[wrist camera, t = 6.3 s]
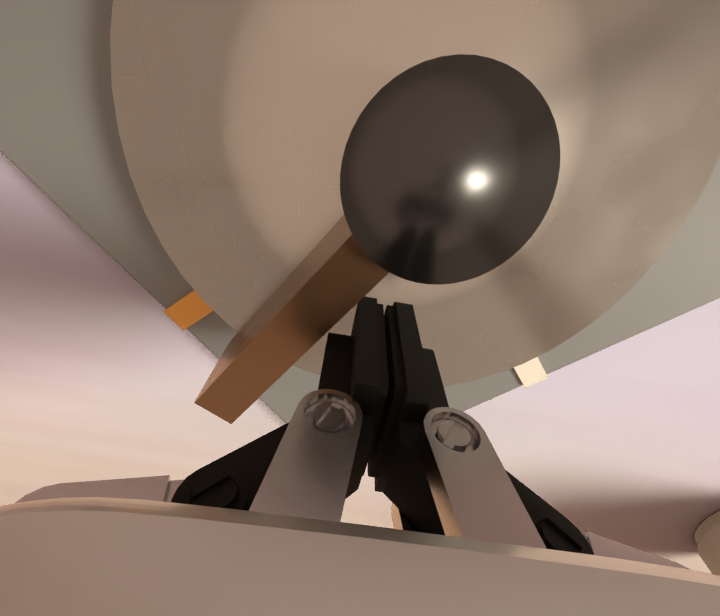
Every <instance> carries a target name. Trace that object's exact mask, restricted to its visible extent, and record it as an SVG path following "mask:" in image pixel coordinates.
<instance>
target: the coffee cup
mask: <svg viewBox="0 0 720 616" xmlns="http://www.w3.org/2000/svg"><path fill="white" fill-rule="evenodd" d="M694 538H695V541H696V543H697V545H698V548H697V550H698V553H699V555H700V557H701V558H702V560H703V561H704V562H705V564H706V565H707V567H708V568H709V570H710V571H711V573H712V574H714V575H719V576H720V511H718V512H716V513H714V514H713V515H711V516H709V517H708V518H707V519H706V520H704V521H703V522H702V523H701V524H700V525H699V527H698V528H697V530H696V531H695V535H694Z"/></svg>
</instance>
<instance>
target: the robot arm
mask: <svg viewBox="0 0 720 616" xmlns="http://www.w3.org/2000/svg"><path fill="white" fill-rule="evenodd" d="M367 462H368V476H369V477H375V491H378V492H383V493H384V494H385V495H386V496H387V497H388V498H389V499H390V500H391V501H392V506H391V515H392V520H393V525H394V529H391V528H383V527H375V526H367V525H359V524H351V523H343V522H340V520H341V515H342V511H343V506H344V502H345V499H346V498H347V497H349V496H350V495H351V494H352V493H354V492H355V491H356V490H357V489H358V487H359V484H360V481H361V477H362V476H363V475H364V472H365V469H366V466H367ZM0 616H720V576H719V575H714V574H709V573H704V572H699V571H694V570H691V569H689V568H687V567H685V566H683V565H681V564H679V563H676V562H673V561H671V560H668V559H665V558H662V557H659V556H657V555H654V554H651V553H648V552H645V551H642V550H640V549H637V548H634V547H631V546H628V545H626V544H623V543H620V542H617V541H614V540H611V539H609V538H606V537H603V536H600V535H597V534H595V533H592V532H589V531H587V532H586V533H585V534H584V535H582V533H581V532H580V531H579V529H578V528H576V527H575V526H574V525H573V524H572V523H571V522H570V521H569V520H568V519H567V518H565V517H564V516H563V515H562V514H560V513H559V512H558V511H557V510H555V509H554V508H553V507H552V506H550V505H549V504H548V503H546V502H545V501H544V500H543V499H541V498H540V497H539V496H538V495H536V494H535V493H534V492H533V491H531V490H530V489H529V488H528V487H526V486H525V485H524V484H522V483H521V482H520V481H519V480H517V479H516V478H515V477H514V476H512V475H511V474H510V473H509V472H507V471H506V470H505V469H504V467H503V465H502V463H501V461H500V459H499V458H498V456H497V454H496V452H495V450H494V448H493V446H492V444H491V443H490V441H489V439H488V437H487V435H486V433H485V431H484V430H483V428H482V427H481V426H480V424H479V423H478V422H477V421H476V420H474V419H473V418H472V417H471V416H469V415H468V414H466V413H464V412H462V411H460V410H457V409H455V408H449V405H448V401H447V398H446V394H445V390H444V387H443V383H442V379H441V375H440V372H439V368H438V364H437V361H436V357H435V353H434V351H433V350H432V349H426V348H422V344H421V339H420V335H419V330H418V326H417V322H416V317H415V313H414V308H413V305H411V304H406V303H400V302H394V303H393V306H390V305H387V306H386V309H385V313H384V309H383V304H379V303H377V298H371V297H365V296H364V297H363V298H362V299H361V300H360V301H359V302H358V303H357V308H356V313H355V317H354V322H353V327H352V332H351V336H348V335H342V334H336V333H330V332H328V336H327V342H326V347H325V353H324V358H323V364H322V369H321V375H320V380H319V386H318V390H315V391H312V392H310V393H308V394H307V395H305V396H304V397H303V398H302V399H301V401H300V402H299V403H298V405H297V408H296V410H295V412H294V414H293V416H292V418H291V420H290V422H289V423H287V424H285V425H283V426H281V427H279V428H277V429H275V430H273V431H271V432H269V433H268V434H266V435H264V436H262V437H260V438H258V439H256V440H254V441H252V442H250V443H248V444H246V445H245V446H243V447H241V448H239V449H237V450H235V451H233V452H231V453H229V454H227V455H225V456H223V457H221V458H220V459H218V460H216V461H214V462H212V463H210V464H208V465H206V466H204V467H202V468H200V469H198V470H197V471H195V472H194V473H192V474H191V475H189V476H188V477H187V478H186V479H185V480H174V481H170V475H167V476H153V477H140V478H126V479H113V480H100V481H86V482H73V483H60V484H55V485H51V486H46V487H42V488H40V489H38V490H36V491H34V492H32V493H29V494H27V495H25V496H24V497H22V498H21V499H20V500H18V501H17V502H16V503H14V504H9V505H4V506H0Z"/></svg>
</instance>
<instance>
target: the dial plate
mask: <svg viewBox="0 0 720 616" xmlns="http://www.w3.org/2000/svg"><path fill="white" fill-rule="evenodd" d="M112 6H113V0H0V151H1V152H2V153H3V154H4V155H5V156H6V157H7V158H8V159H9V160H10V161H12V162H13V163H14V164H15V165H16V166H17V167H18V168H19V169H20V170H21V171H22V172H23V173H24V174H25V175H26V176H27V177H28V178H29V179H30V180H31V181H33V182H34V183H35V184H36V185H37V186H38V187H39V188H40V189H41V190H42V191H43V192H44V193H45V194H46V195H47V196H48V197H49V198H50V199H51V200H52V201H53V202H55V203H56V204H57V205H58V206H59V207H60V208H61V209H62V210H63V211H64V212H65V213H66V214H67V215H68V216H69V217H70V218H71V219H72V220H73V221H74V222H76V223H77V224H78V225H79V226H80V227H81V228H82V229H83V230H84V231H85V232H86V233H87V234H88V235H89V236H90V237H91V238H92V239H93V240H94V241H95V242H96V243H98V244H99V245H100V246H101V247H102V248H103V249H104V250H105V251H106V252H107V253H108V254H109V255H110V256H111V257H112V258H113V259H114V260H115V261H116V262H117V263H119V264H120V265H121V266H122V267H123V268H124V269H125V270H126V271H127V272H128V273H129V274H130V275H131V276H132V277H133V278H134V279H135V280H136V281H137V282H138V283H140V284H141V285H142V286H143V287H144V288H145V289H146V290H147V291H148V292H149V293H150V294H151V295H152V296H153V297H154V298H155V299H156V300H157V301H158V302H159V303H160V304H162V305H163V306H164V307H165V308H166V310H165V311H164V312H165V313H166V314H167V315H168V316H169V317H170V318H171V319H172V320H173V321H174V322H175V323H176V324H177V325H178V326H179V327H181V328H182V329H183V330H185V329H188V330H189V331H190V332H191V333H192V334H193V335H194V336H195V337H196V338H197V339H198V340H199V341H200V342H201V343H202V344H204V345H205V346H206V347H207V348H208V349H209V350H210V351H211V352H212V353H213V354H214V355H215V356H216V357H217V358H218V359H220V357H221V356H222V354H223V352H224V351H225V349H226V347H227V345H228V344H229V342H230V341H231V340H232V338H233V337H234V336H235V335H236V334H237V333H238V331H236V330H235V329H234V328H232V327H231V326H230V325H228V324H227V323H226V322H225V321H224V320H223V319H222V318H221V317H220V316H219V315H218V314H217V313H216V312H215V311H213V310H212V309H211V308H210V307H209V306H208V305H207V304H206V303H205V302H204V301H203V300H202V298H201V297H200V296H199V295H198V294H197V293H196V291H195V290H194V289H193V288H192V287H191V286H190V284H189V283H188V282H187V281H186V280H185V278H184V277H183V276H182V275H181V273H180V272H179V270H178V269H177V267H176V266H175V264H174V263H173V261H172V260H171V258H170V257H169V255H168V254H167V252H166V251H165V249H164V248H163V246H162V245H161V243H160V241H159V239H158V237H157V235H156V233H155V231H154V229H153V227H152V226H151V224H150V222H149V220H148V218H147V216H146V214H145V212H144V209H143V207H142V204H141V202H140V199H139V197H138V194H137V192H136V189H135V187H134V184H133V181H132V179H131V176H130V173H129V170H128V166H127V162H126V158H125V155H124V151H123V147H122V144H121V140H120V136H119V132H118V125H117V119H116V112H115V106H114V99H113V92H112V83H111V54H110V29H111V18H112ZM718 298H720V157H719V159H718V161H717V163H716V165H715V167H714V169H713V172H712V174H711V176H710V178H709V180H708V182H707V184H706V186H705V188H704V191H703V192H702V194H701V196H700V197H699V199H698V201H697V202H696V204H695V206H694V207H693V209H692V211H691V212H690V214H689V216H688V217H687V219H686V221H685V222H684V224H683V226H682V227H681V229H680V230H679V231H678V233H677V234H676V235H675V237H674V238H673V239H672V241H671V242H670V244H669V245H668V246H667V248H666V249H665V250H664V252H663V253H662V254H661V256H660V257H659V258H658V260H657V261H656V262H655V263H654V264H653V265H652V266H651V267H650V269H649V270H648V271H647V272H646V273H645V274H644V275H643V276H642V277H641V279H640V280H639V281H638V282H637V283H636V284H635V285H634V286H633V287H632V288H631V289H630V290H629V291H628V292H627V293H626V294H625V295H624V296H623V297H622V298H621V299H619V300H618V301H617V302H616V303H615V304H614V305H613V306H612V307H611V308H610V309H609V310H608V311H606V312H605V313H604V314H603V315H601V316H600V317H599V318H597V319H596V320H595V321H593V322H592V323H591V324H589V325H588V326H587V327H586V328H584V329H583V330H582V331H580V332H579V333H577V334H576V335H574V336H573V337H571V338H569V339H568V340H566V341H565V342H563V343H561V344H560V345H558V346H557V347H555V348H553V349H552V350H550V351H548V352H546V353H544V354H542V355H540V356H538V357H536V358H534V359H532V360H530V361H528V362H526V363H524V364H521V365H519V366H516V367H514V368H511V369H508V370H506V371H503V372H501V373H498V374H495V375H492V376H488V377H485V378H481V379H477V380H474V381H470V382H466V383H461V384H455V385H449V386H444V390H445V394H446V398H447V401H448V405H449V408H455V409H457V410H460V411H462V412H463V411H465V410H467V409H469V408H472V407H474V406H476V405H478V404H481V403H483V402H485V401H488V400H490V399H492V398H494V397H497V396H499V395H501V394H503V393H506V392H508V391H510V390H512V389H515V388H517V387H519V386H521V385H524V387H525V388H526V387H528V386H530V385H533V384H535V383H537V382H540V381H542V380H544V379H546V378H548V376H547V374H549V373H551V372H553V371H555V370H558V369H560V368H562V367H564V366H567V365H569V364H571V363H573V362H576V361H578V360H580V359H582V358H585V357H587V356H589V355H591V354H594V353H596V352H598V351H601V350H603V349H605V348H607V347H610V346H612V345H614V344H616V343H619V342H621V341H623V340H625V339H628V338H630V337H632V336H634V335H637V334H639V333H641V332H643V331H646V330H648V329H650V328H653V327H655V326H657V325H659V324H662V323H664V322H666V321H668V320H671V319H673V318H675V317H677V316H680V315H682V314H684V313H686V312H689V311H691V310H693V309H695V308H698V307H700V306H702V305H705V304H707V303H709V302H711V301H714V300H716V299H718ZM319 380H320V376H319V375H316V374H314V373H311V372H308V371H305V370H302V369H300V368H298V367H296V366H294V365H292V366H291V367H290V368H289V369H288V370H287V371H286V372H285V373H284V374H283V375H282V376H281V377H280V378H279V379H278V380H277V381H276V382H275V383H274V384H273V385H271V386H270V387H269V388H268V389H267V390H266V391H265V392H264V393H263V394H262V395H261V396H260V397H259V398H260V399H261V400H262V401H263V402H264V403H265V404H266V405H268V406H269V407H270V408H271V409H272V410H273V411H274V412H275V413H276V414H277V415H278V416H279V417H280V418H281V419H282V420H283V421H284V422H285V423H286V424H287V423H289V422H290V420H291V418H292V416H293V414H294V412H295V410H296V408H297V405H298V403H299V402H300V401H301V399H302V398H303V397H304V396H305V395H307V394H308V393H310V392H312V391H315V390H318V386H319Z"/></svg>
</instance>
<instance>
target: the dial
mask: <svg viewBox="0 0 720 616" xmlns="http://www.w3.org/2000/svg"><path fill="white" fill-rule="evenodd" d="M110 54H111V83H112V92H113V99H114V106H115V112H116V119H117V125H118V132H119V136H120V140H121V144H122V147H123V151H124V155H125V158H126V162H127V166H128V170H129V173H130V176H131V179H132V181H133V184H134V187H135V189H136V192H137V194H138V197H139V199H140V202H141V204H142V207H143V209H144V212H145V214H146V216H147V218H148V220H149V222H150V224H151V226H152V227H153V229H154V231H155V233H156V235H157V237H158V239H159V241H160V243H161V245H162V246H163V248H164V249H165V251H166V252H167V254H168V255H169V257H170V258H171V260H172V261H173V263H174V264H175V266H176V267H177V269H178V270H179V272H180V273H181V275H182V276H183V277H184V278H185V280H186V281H187V282H188V283H189V284H190V286H191V287H192V288H193V289H194V290H195V291H196V293H197V294H198V295H199V296H200V297H201V298H202V300H203V301H204V302H205V303H206V304H207V305H208V306H209V307H210V308H211V309H212V310H213V311H215V312H216V313H217V314H218V315H219V316H220V317H221V318H222V319H223V320H224V321H225V322H226V323H227V324H228V325H230V326H231V327H232V328H234V329H235V330H236V331H238V333H237V334H236V335H235V336H234V337H233V338H232V340H231V341H230V342H229V344H228V345H227V347H226V349H225V351H224V352H223V354H222V356H221V357H220V359H219V361H218V363H217V364H216V366H215V368H214V370H213V371H212V373H211V375H210V376H209V378H208V380H207V382H206V383H205V385H204V387H203V389H202V390H201V392H200V394H199V395H198V397H197V399H196V401H195V402H194V403H196V404H197V405H199V406H201V407H203V408H204V409H206V410H208V411H210V412H211V413H213V414H215V415H217V416H218V417H220V418H222V419H223V420H225V421H227V422H229V423H230V424H232V423H233V422H234V421H235V420H236V419H237V418H238V417H239V416H240V415H241V414H242V413H243V412H244V411H245V410H246V409H247V408H249V407H250V406H251V405H252V404H253V403H254V402H255V401H256V400H257V399H258V398H259V397H260V396H261V395H262V394H263V393H264V392H265V391H266V390H267V389H268V388H269V387H270V386H271V385H273V384H274V383H275V382H276V381H277V380H278V379H279V378H280V377H281V376H282V375H283V374H284V373H285V372H286V371H287V370H288V369H289V368H290V367H291V366H292V365H294V366H296V367H298V368H300V369H302V370H305V371H308V372H311V373H314V374H316V375H319V376H320V375H321V369H322V364H323V358H324V353H325V347H326V342H327V336H328V332H330V333H336V334H342V335H348V336H351V332H352V327H353V322H354V317H355V313H356V308H357V303H358V302H359V301H360V300H361V299H362V298H363V297H364V296H365V297H371V298H377V303H379V304H383V309H384V313H385V309H386V306H387V305H390V306H393V303H394V302H400V303H406V304H411V305H413V308H414V313H415V317H416V322H417V326H418V330H419V335H420V339H421V344H422V348H426V349H432V350H433V351H434V353H435V357H436V361H437V364H438V368H439V372H440V375H441V379H442V383H443V387H444V386H449V385H455V384H461V383H466V382H470V381H474V380H477V379H481V378H485V377H488V376H492V375H495V374H498V373H501V372H503V371H506V370H508V369H511V368H514V367H516V366H519V365H521V364H524V363H526V362H528V361H530V360H532V359H534V358H536V357H538V356H540V355H542V354H544V353H546V352H548V351H550V350H552V349H553V348H555V347H557V346H558V345H560V344H561V343H563V342H565V341H566V340H568V339H569V338H571V337H573V336H574V335H576V334H577V333H579V332H580V331H582V330H583V329H584V328H586V327H587V326H588V325H589V324H591V323H592V322H593V321H595V320H596V319H597V318H599V317H600V316H601V315H603V314H604V313H605V312H606V311H608V310H609V309H610V308H611V307H612V306H613V305H614V304H615V303H616V302H617V301H618V300H619V299H621V298H622V297H623V296H624V295H625V294H626V293H627V292H628V291H629V290H630V289H631V288H632V287H633V286H634V285H635V284H636V283H637V282H638V281H639V280H640V279H641V277H642V276H643V275H644V274H645V273H646V272H647V271H648V270H649V269H650V267H651V266H652V265H653V264H654V263H655V262H656V261H657V260H658V258H659V257H660V256H661V254H662V253H663V252H664V250H665V249H666V248H667V246H668V245H669V244H670V242H671V241H672V239H673V238H674V237H675V235H676V234H677V233H678V231H679V230H680V229H681V227H682V226H683V224H684V222H685V221H686V219H687V217H688V216H689V214H690V212H691V211H692V209H693V207H694V206H695V204H696V202H697V201H698V199H699V197H700V196H701V194H702V192H703V191H704V188H705V186H706V184H707V182H708V180H709V178H710V176H711V174H712V172H713V169H714V167H715V165H716V163H717V161H718V159H719V157H720V0H113V6H112V18H111V29H110Z"/></svg>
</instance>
